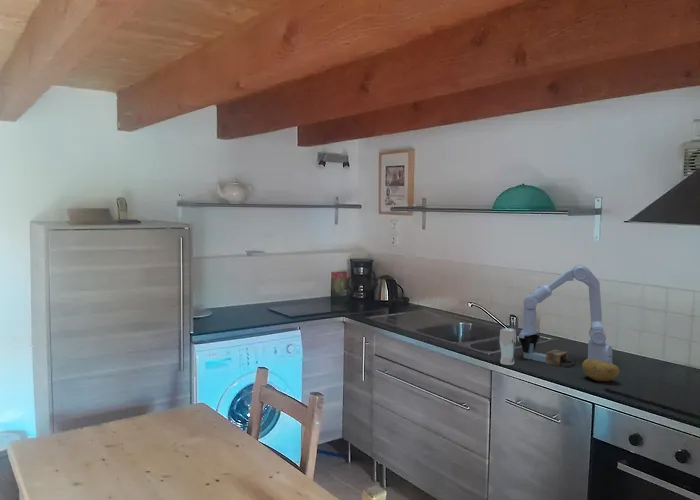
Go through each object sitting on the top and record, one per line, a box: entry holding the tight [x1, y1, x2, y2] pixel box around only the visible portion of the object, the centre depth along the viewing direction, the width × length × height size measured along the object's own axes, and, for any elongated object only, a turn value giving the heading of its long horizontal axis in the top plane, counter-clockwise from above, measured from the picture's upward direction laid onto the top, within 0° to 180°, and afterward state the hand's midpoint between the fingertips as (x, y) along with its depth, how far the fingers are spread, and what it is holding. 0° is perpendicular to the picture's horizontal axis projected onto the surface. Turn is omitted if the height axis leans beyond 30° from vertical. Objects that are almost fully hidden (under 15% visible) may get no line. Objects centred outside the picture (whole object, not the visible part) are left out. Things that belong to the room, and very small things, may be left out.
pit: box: [559, 359, 576, 368], centre depth 251 cm, size 3×7×1 cm, turn 134°
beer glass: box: [499, 327, 517, 366], centre depth 254 cm, size 7×7×15 cm
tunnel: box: [545, 349, 569, 367], centre depth 254 cm, size 6×8×5 cm
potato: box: [581, 358, 620, 382], centre depth 229 cm, size 10×14×8 cm
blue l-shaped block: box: [522, 343, 546, 363], centre depth 261 cm, size 12×4×6 cm, turn 44°
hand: (528, 351), depth 264 cm, fingers open, 5 cm apart
